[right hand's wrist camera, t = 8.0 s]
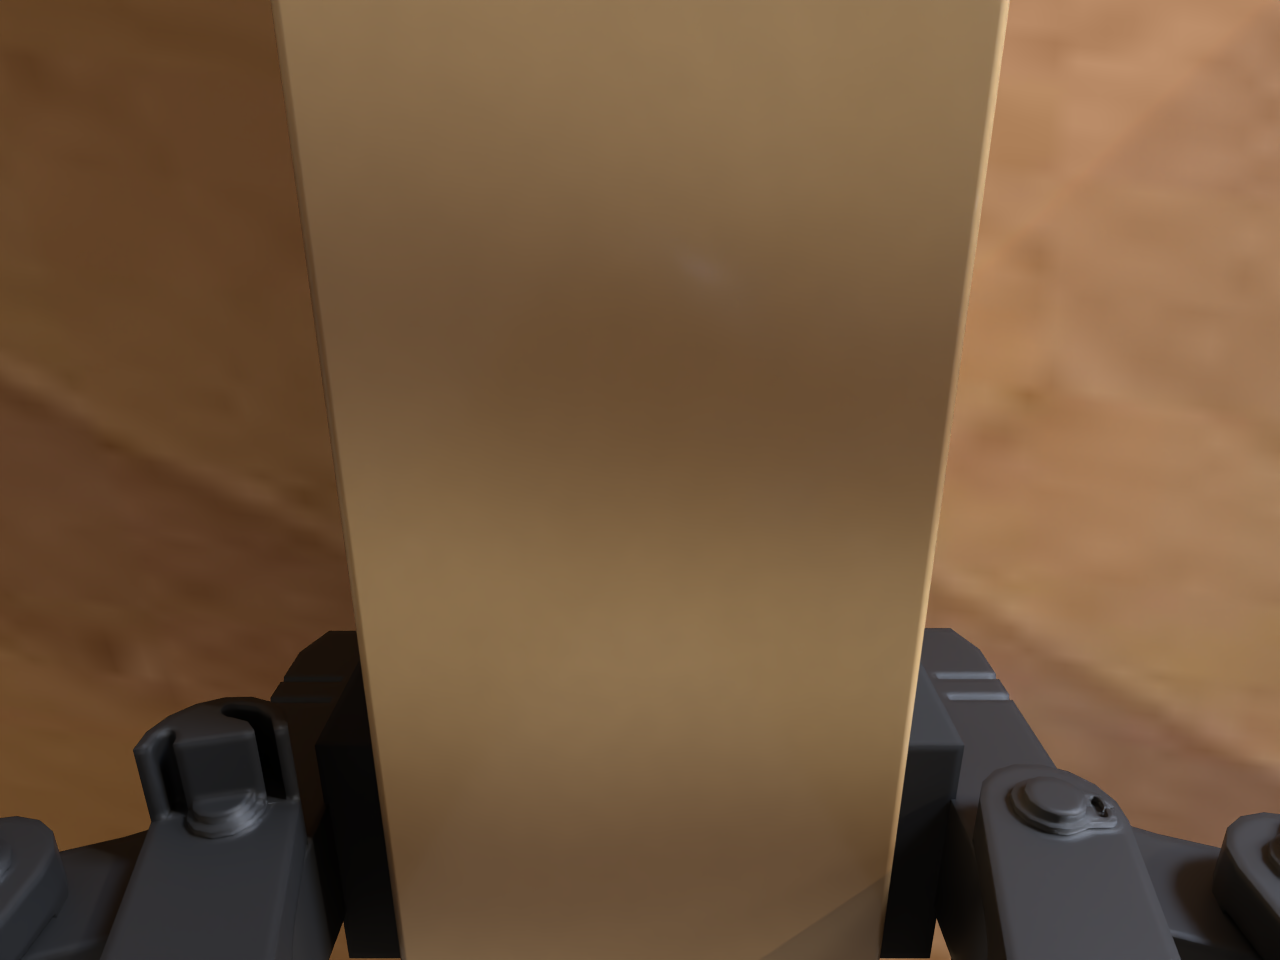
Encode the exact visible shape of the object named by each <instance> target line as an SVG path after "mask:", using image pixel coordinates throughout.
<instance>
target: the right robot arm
mask: <svg viewBox="0 0 1280 960" xmlns="http://www.w3.org/2000/svg"><path fill="white" fill-rule="evenodd" d="M133 752H134V756H135V760H136V764H137V767H138V771H139V775H140V779H141V783H142V787H143V791H144V795H145V799H146V803H147V806H148V810H149V814H150V818H151V825H150V827H149V830H146V831H143V832H140V833H136V834H133V835H129V836H126V837H123V838H118V839H114V840H109V841H105V842H101V843H96V844H92V845H87V846H83V847H78V848H74V849H70V850H65V851H61V852H59V850H58V847H57V843H56V840H55V837H54V834H53V831H52V830H50V829H49V828H48V827H47V826H46V825H45V824H43V823H42V822H41V821H40V820H36V819H30V818H24V817H18V816H14V817H6V818H0V960H329V958H330V955H331V952H332V950H333V947H334V944H335V942H336V939H337V936H338V934H339V931H340V928H341V926H342V923H343V922H344V928H345V934H346V940H347V946H348V952H349V958H401V955H400V948H399V941H398V933H397V926H396V919H395V911H394V904H393V897H392V889H391V882H390V875H389V867H388V860H387V853H386V845H385V838H384V831H383V823H382V816H381V809H380V801H379V794H378V786H377V779H376V772H375V764H374V757H373V750H372V742H371V735H370V728H369V720H368V713H367V706H366V698H365V691H364V684H363V676H362V669H361V662H360V654H359V647H358V640H357V632H356V631H328V632H327V633H326V634H324V635H323V636H322V637H320V638H319V639H317V640H316V641H315V642H313V643H312V644H311V645H309V646H308V647H307V648H305V649H304V650H302V651H301V652H300V653H299V654H298V656H297V658H296V659H295V661H294V662H293V664H292V665H291V667H290V668H289V670H288V672H287V673H286V675H285V676H284V682H280V684H279V686H278V687H277V689H276V690H275V692H274V693H273V695H272V696H271V702H270V701H266V700H262V699H258V698H254V697H225V698H221V699H216V700H212V701H207V702H203V703H199V704H195V705H193V706H191V707H188V708H186V709H184V710H181V711H179V712H177V713H175V714H172V715H170V716H168V717H167V718H165V719H164V720H163V721H161V722H160V723H158V724H157V725H156V726H154V727H153V728H151V729H150V730H149V731H147V732H146V733H145V735H144V736H143V737H142V739H141V740H140V741H139V743H138V744H137V745H136V747H135V748H134V749H133ZM936 918H937V921H938V923H939V926H940V929H941V931H942V934H943V937H944V939H945V942H946V945H947V947H948V950H949V953H950V955H951V960H1280V814H1273V813H1265V812H1263V813H1257V814H1252V815H1246V816H1241V817H1239V818H1238V819H1237V820H1236V821H1235V822H1233V823H1232V824H1231V825H1230V826H1229V827H1228V828H1227V831H1226V834H1225V837H1224V840H1223V844H1222V847H1221V848H1218V847H1213V846H1209V845H1204V844H1200V843H1195V842H1191V841H1186V840H1182V839H1178V838H1173V837H1169V836H1164V835H1160V834H1156V833H1152V832H1149V831H1146V830H1142V829H1139V828H1135V827H1132V826H1130V823H1129V821H1128V819H1127V818H1126V816H1125V815H1124V813H1123V811H1122V810H1121V808H1120V807H1119V805H1118V804H1117V802H1116V801H1115V800H1113V799H1112V798H1111V797H1110V796H1108V795H1107V794H1106V793H1105V792H1104V791H1102V790H1101V789H1100V788H1099V787H1097V786H1096V785H1095V784H1093V783H1091V782H1089V781H1087V780H1085V779H1083V778H1081V777H1079V776H1077V775H1074V774H1072V773H1070V772H1068V771H1064V770H1060V769H1057V768H1056V766H1055V765H1054V763H1053V762H1052V760H1051V759H1050V757H1049V756H1048V754H1047V753H1046V751H1045V749H1044V748H1043V746H1042V745H1041V743H1040V742H1039V740H1038V739H1037V737H1036V736H1035V734H1034V732H1033V731H1032V729H1031V728H1030V726H1029V725H1028V723H1027V722H1026V720H1025V719H1024V717H1023V716H1022V714H1021V712H1020V711H1019V709H1018V708H1017V706H1016V705H1015V703H1014V702H1013V700H1009V694H1008V692H1007V691H1006V689H1005V688H1004V686H1003V685H1002V683H1001V682H1000V680H999V679H996V674H995V672H994V671H993V669H992V668H991V666H990V665H989V663H988V662H987V660H986V658H985V657H984V655H983V654H982V652H981V651H980V649H978V648H977V647H976V646H974V645H973V644H971V643H970V642H969V641H967V640H966V639H965V638H963V637H962V636H960V635H959V634H958V633H956V632H955V631H953V630H952V629H951V628H925V629H924V636H923V643H922V651H921V658H920V665H919V673H918V680H917V688H916V695H915V702H914V710H913V717H912V724H911V732H910V739H909V746H908V754H907V761H906V768H905V776H904V783H903V791H902V798H901V805H900V813H899V820H898V827H897V835H896V842H895V849H894V857H893V864H892V871H891V879H890V886H889V894H888V901H887V908H886V916H885V923H884V930H883V938H882V945H881V952H880V958H930V954H931V948H932V942H933V935H934V929H935V923H936Z"/></svg>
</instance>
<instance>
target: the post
mask: <svg viewBox="0 0 1280 960" xmlns="http://www.w3.org/2000/svg"><path fill="white" fill-rule="evenodd" d="M1009 3H1010V0H271V8H272V15H273V22H274V30H275V37H276V44H277V52H278V59H279V66H280V74H281V81H282V88H283V96H284V103H285V110H286V118H287V125H288V132H289V140H290V147H291V155H292V162H293V169H294V177H295V184H296V191H297V199H298V206H299V213H300V221H301V228H302V235H303V243H304V250H305V257H306V265H307V272H308V279H309V287H310V294H311V301H312V309H313V316H314V324H315V331H316V338H317V346H318V353H319V360H320V368H321V375H322V382H323V390H324V397H325V404H326V412H327V419H328V426H329V434H330V441H331V448H332V456H333V463H334V471H335V478H336V485H337V493H338V500H339V507H340V515H341V522H342V529H343V537H344V544H345V551H346V559H347V566H348V573H349V581H350V588H351V595H352V603H353V610H354V617H355V625H356V632H357V640H358V647H359V654H360V662H361V669H362V676H363V684H364V691H365V698H366V706H367V713H368V720H369V728H370V735H371V742H372V750H373V757H374V764H375V772H376V779H377V786H378V794H379V801H380V809H381V816H382V823H383V831H384V838H385V845H386V853H387V860H388V867H389V875H390V882H391V889H392V897H393V904H394V911H395V919H396V926H397V933H398V941H399V948H400V955H401V960H880V952H881V945H882V938H883V930H884V923H885V916H886V908H887V901H888V894H889V886H890V879H891V871H892V864H893V857H894V849H895V842H896V835H897V827H898V820H899V813H900V805H901V798H902V791H903V783H904V776H905V768H906V761H907V754H908V746H909V739H910V732H911V724H912V717H913V710H914V702H915V695H916V688H917V680H918V673H919V665H920V658H921V651H922V643H923V636H924V629H925V621H926V614H927V607H928V599H929V592H930V585H931V577H932V570H933V562H934V555H935V548H936V540H937V533H938V526H939V518H940V511H941V504H942V496H943V489H944V482H945V474H946V467H947V459H948V452H949V445H950V437H951V430H952V423H953V415H954V408H955V401H956V393H957V386H958V379H959V371H960V364H961V356H962V349H963V342H964V334H965V327H966V320H967V312H968V305H969V298H970V290H971V283H972V276H973V268H974V261H975V253H976V246H977V239H978V231H979V224H980V217H981V209H982V202H983V195H984V187H985V180H986V173H987V165H988V158H989V150H990V143H991V136H992V128H993V121H994V114H995V106H996V99H997V92H998V84H999V77H1000V70H1001V62H1002V55H1003V47H1004V40H1005V33H1006V25H1007V18H1008V11H1009Z"/></svg>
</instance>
